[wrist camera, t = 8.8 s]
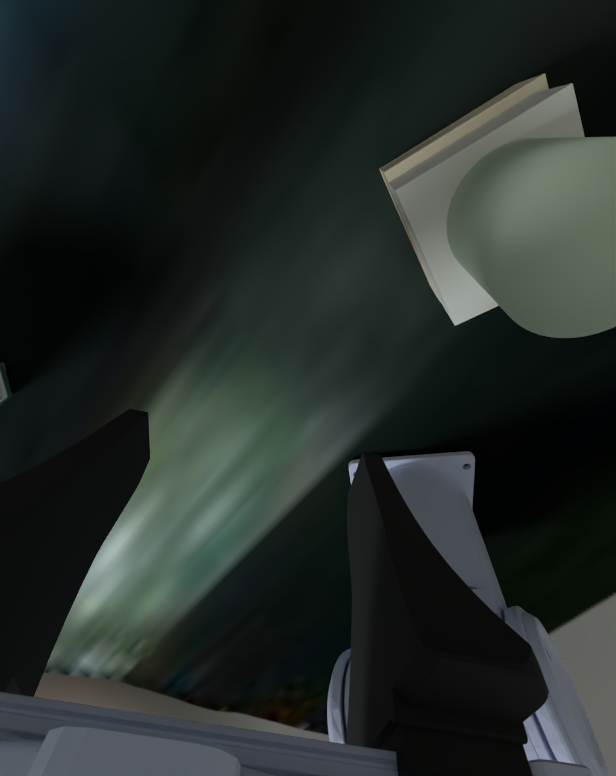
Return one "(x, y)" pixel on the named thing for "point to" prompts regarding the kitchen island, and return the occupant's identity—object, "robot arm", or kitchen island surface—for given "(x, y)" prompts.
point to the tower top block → (443, 175)
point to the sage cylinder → (542, 232)
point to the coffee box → (4, 385)
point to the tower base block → (456, 132)
